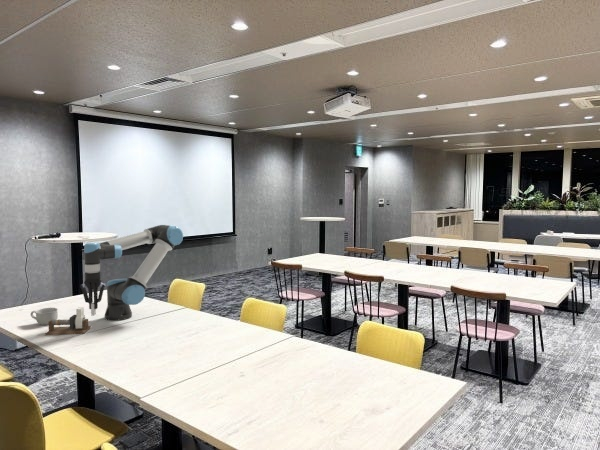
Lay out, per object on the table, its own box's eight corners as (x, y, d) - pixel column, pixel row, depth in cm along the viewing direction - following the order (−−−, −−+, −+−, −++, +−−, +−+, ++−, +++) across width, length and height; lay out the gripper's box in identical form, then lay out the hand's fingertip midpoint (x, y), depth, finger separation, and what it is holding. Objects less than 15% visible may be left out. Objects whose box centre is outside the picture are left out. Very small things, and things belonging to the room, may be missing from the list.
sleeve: (85, 325, 234) (84, 306, 233) (81, 328, 228) (80, 309, 228) (79, 325, 234) (79, 306, 233) (75, 328, 228) (74, 309, 227)
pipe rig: (91, 327, 237) (90, 315, 237) (83, 333, 226) (83, 321, 226) (54, 328, 235) (54, 317, 234) (45, 335, 224) (44, 323, 223)
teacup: (62, 321, 248) (61, 307, 248) (49, 327, 238) (49, 312, 237) (39, 320, 250) (39, 307, 249) (26, 326, 239) (25, 312, 238)
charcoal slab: (77, 325, 234) (77, 314, 233) (72, 329, 228) (72, 317, 227) (74, 325, 234) (74, 314, 233) (69, 329, 227) (69, 317, 227)
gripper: (107, 270, 234) (108, 312, 236) (82, 270, 233) (83, 313, 234) (103, 272, 227) (104, 316, 229) (77, 273, 225) (78, 317, 227)
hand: (93, 314), depth 231 cm, fingers closed
